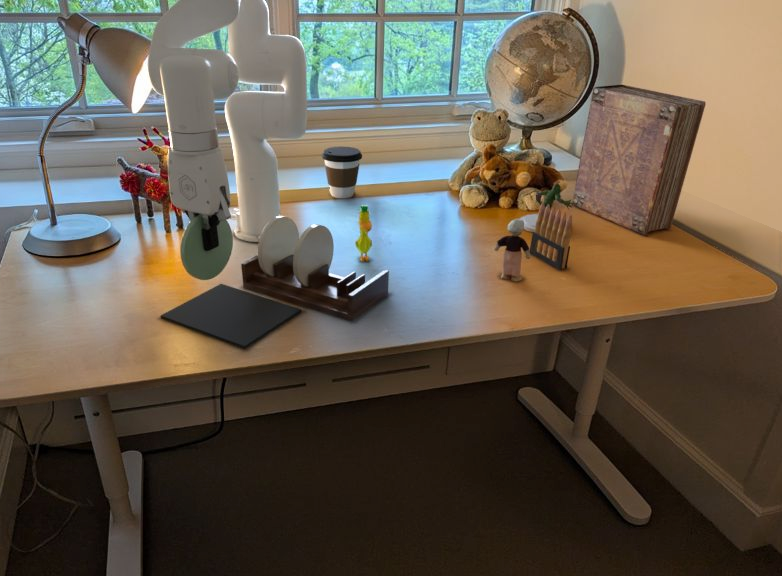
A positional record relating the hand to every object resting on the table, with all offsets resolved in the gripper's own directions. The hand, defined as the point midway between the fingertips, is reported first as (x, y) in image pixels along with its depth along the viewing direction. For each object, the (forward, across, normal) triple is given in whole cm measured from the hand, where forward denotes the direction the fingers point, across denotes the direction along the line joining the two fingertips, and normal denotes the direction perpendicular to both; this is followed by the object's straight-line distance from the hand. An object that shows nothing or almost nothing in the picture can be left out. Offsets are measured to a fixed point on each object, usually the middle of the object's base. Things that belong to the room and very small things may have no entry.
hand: (207, 246), depth 113 cm
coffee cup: (+12, -18, +70) cm, 73 cm away
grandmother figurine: (+13, +41, +44) cm, 61 cm away
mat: (+13, +4, 0) cm, 13 cm away
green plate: (0, 0, 0) cm, 0 cm away
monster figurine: (+13, +37, +78) cm, 87 cm away
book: (+12, +52, +95) cm, 109 cm away
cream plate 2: (+5, +11, +17) cm, 21 cm away
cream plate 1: (+5, +2, +17) cm, 18 cm away
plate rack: (+13, +11, +17) cm, 23 cm away
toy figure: (+13, +11, +35) cm, 39 cm away
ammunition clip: (+13, +45, +57) cm, 74 cm away
